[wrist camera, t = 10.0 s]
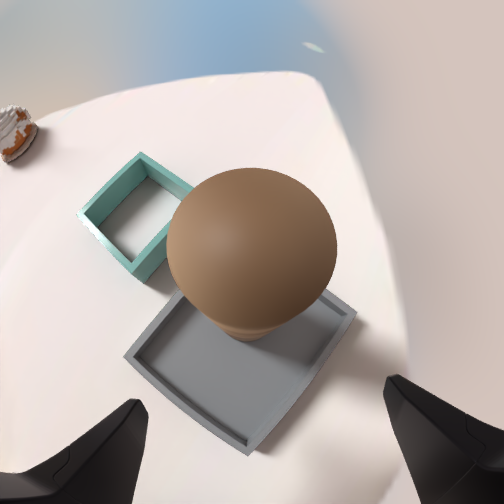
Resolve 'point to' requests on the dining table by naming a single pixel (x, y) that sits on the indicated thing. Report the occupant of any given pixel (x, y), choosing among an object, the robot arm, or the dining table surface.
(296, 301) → the brown tall rounded cylinder
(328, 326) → the tray
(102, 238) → the teal square frame
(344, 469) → the dining table surface
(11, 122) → the decorative ornament
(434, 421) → the robot arm
